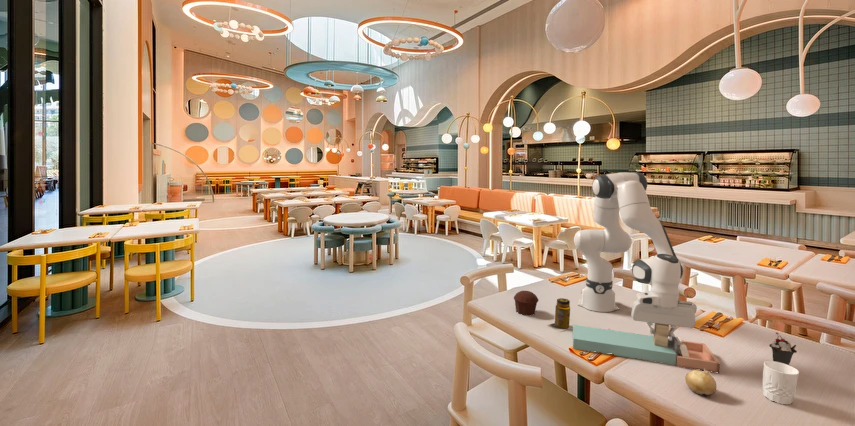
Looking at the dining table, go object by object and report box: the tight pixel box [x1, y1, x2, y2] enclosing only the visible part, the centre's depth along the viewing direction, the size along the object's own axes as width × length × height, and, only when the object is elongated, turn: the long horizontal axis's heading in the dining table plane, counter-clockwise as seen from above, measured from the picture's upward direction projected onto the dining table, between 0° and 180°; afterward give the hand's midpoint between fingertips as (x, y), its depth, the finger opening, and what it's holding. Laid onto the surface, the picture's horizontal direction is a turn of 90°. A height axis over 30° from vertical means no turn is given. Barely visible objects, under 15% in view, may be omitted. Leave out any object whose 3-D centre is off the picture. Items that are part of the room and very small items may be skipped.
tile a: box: [675, 336, 682, 356], centre depth 144 cm, size 5×5×2 cm
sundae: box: [768, 332, 798, 366], centre depth 129 cm, size 7×7×15 cm
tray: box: [668, 337, 721, 374], centre depth 141 cm, size 16×12×4 cm
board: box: [572, 324, 677, 366], centre depth 149 cm, size 14×34×4 cm, turn 70°
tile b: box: [680, 344, 690, 358], centre depth 138 cm, size 5×5×2 cm
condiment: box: [547, 297, 573, 332], centre depth 168 cm, size 7×8×12 cm
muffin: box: [513, 290, 539, 316], centre depth 185 cm, size 12×11×10 cm
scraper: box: [652, 323, 680, 353], centre depth 143 cm, size 12×7×8 cm, turn 158°
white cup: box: [761, 360, 800, 405], centre depth 117 cm, size 8×8×10 cm
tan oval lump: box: [685, 368, 717, 396], centre depth 120 cm, size 8×8×7 cm
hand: (660, 334), depth 144 cm, fingers closed on scraper, 4 cm apart
